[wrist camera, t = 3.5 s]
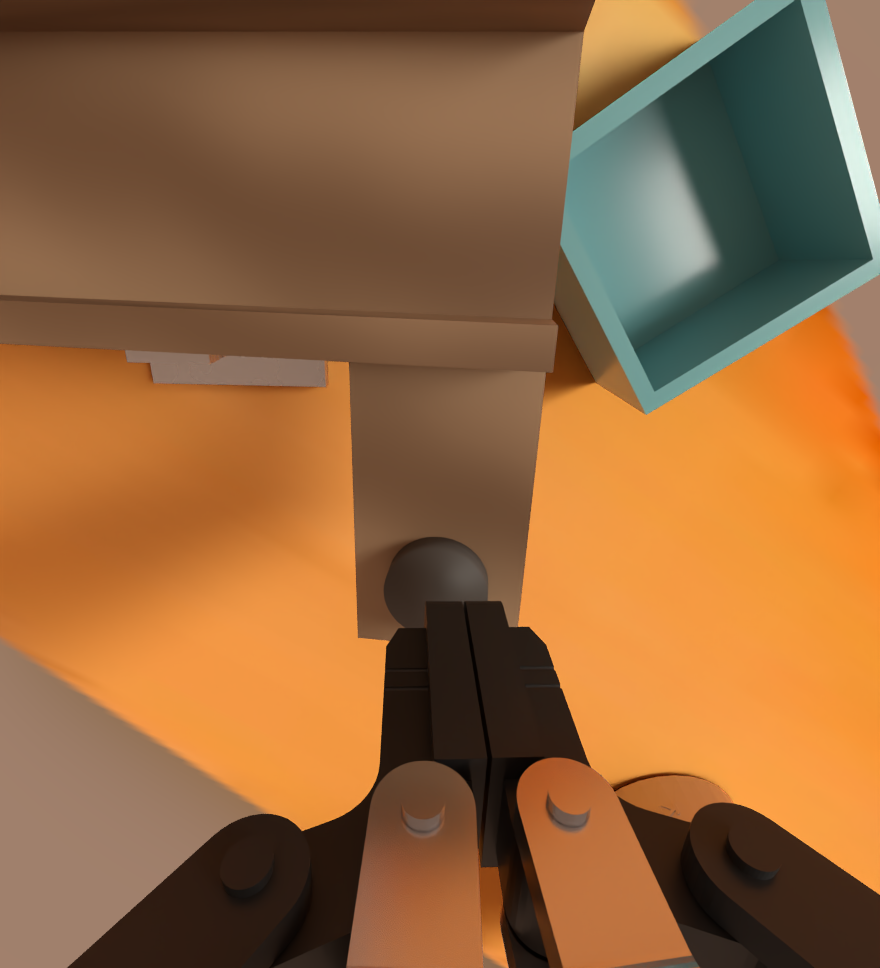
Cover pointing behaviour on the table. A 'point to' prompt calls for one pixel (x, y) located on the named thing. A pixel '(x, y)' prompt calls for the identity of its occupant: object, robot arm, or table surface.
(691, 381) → the teal square bin
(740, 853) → the robot arm
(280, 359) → the fulcrum
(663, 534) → the table surface
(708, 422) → the table surface
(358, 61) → the lever
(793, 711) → the table surface
